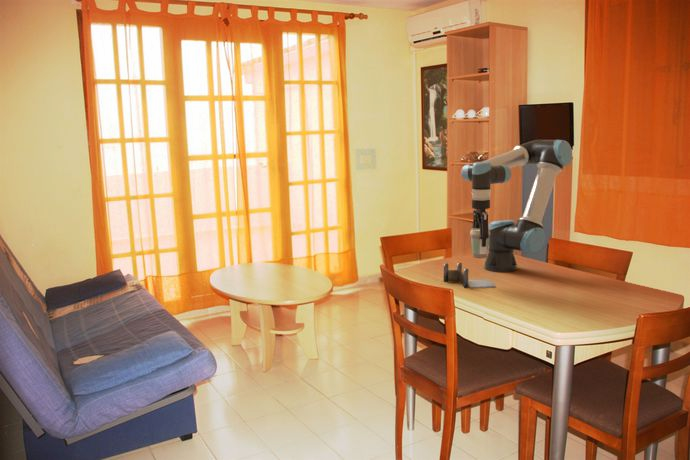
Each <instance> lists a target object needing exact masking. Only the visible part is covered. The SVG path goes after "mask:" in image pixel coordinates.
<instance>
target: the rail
mask: <svg viewBox="0 0 690 460" xmlns="http://www.w3.org/2000/svg"><path fill="white" fill-rule="evenodd" d="M456 265H457V266H456V269H449V263H446V262H445V263H443V282H444V283H448V281H453V282H458V281H459V282H460V283H461V284H462V285H463V286H462V285H461V286H462V287H464V289H468V288H469V287H468V280H469V268H463V263H462V262H457V264H456ZM460 283H459V284H460Z"/></svg>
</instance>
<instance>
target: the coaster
mask: <svg viewBox="0 0 690 460" xmlns="http://www.w3.org/2000/svg"><path fill="white" fill-rule="evenodd" d="M468 286H469V287H470V288H469V287H468V288H469V289H486V288H487V289H488V288H497V286H496V285H495V284H494V283H493V282H492V281H490V279H468Z"/></svg>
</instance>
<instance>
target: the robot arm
mask: <svg viewBox="0 0 690 460" xmlns="http://www.w3.org/2000/svg"><path fill="white" fill-rule="evenodd" d="M572 160H573V150H572V147H571V145H570V142H568V141H566V140H564V139H563V140H562V139H535V140H531V141H528V142H525V143H522V144H519V145H516V146H515V147H514V148H512V150H510V151H507V152H504V153H501V154H499V155H495V156H493V157H491V158H488V159H485V160H482V161H476V162H474V163H473V164H472V163H470V164H469V163H468V164H465V165H463V166H462V168H461V172H460V173H461V177H462V180H464V181H466V182H470V183H471V182H472V183H471V184H472V185H471V186H472V187H471V190H472V191H471V192H470V193H471V198H472V200H471V208H472V209H473V212H472V213H473V217H472V218H473V219H472V229H473V228H480V235H481V237H480V238H479V239H480V254H486V252H487V257H486V258H485V261H484V265H483V268H484V269H485V270H487V271H491V272H496V273H497V272H498V273H506V272H507V273H509V272H515V271H517V270H518V264H517V260H516V256H515V254H514V252H515V251H519V252H523V253H531V254H532V253H536V252H538V251H540V250H541V248H542V247H543V245H544V244H545V243H546V242H545V241H546V232H545V230H544V225H543V223H542V221H543V218H544V214H545V213H546V209H547V206H548V203H549V200H550V197H551V195H552V191H553V188H554V186H555V185H554V184H555V182H556V180H557V175H558V174H560V173H562V172H563V169H564V167H567V166H569V165H570V164H571V162H572ZM526 165H536V167H537V173H536V176H535V178H534V182H533V185H532V187H531V190H530V194H529V197H528V199H527V202H526V205H525V207H524V208H525V209H524V212H523V213H522V216H521V217H519V218H518V219H517V221H516V222H515V220H514V219H513V220H512V219H505V220H504V219H503V220H496V221H495V220H494V221H491V222H490V223H489V214H487V212H486V210H488V209H490V208H491V200H490V199H491V189H492V188H491V185H492V184H505V183H507V182H509V181H510V180H511V178H512V171H511V169H513V168H515V167H517V166H520V167H521V166H526ZM488 229H489V231H490V236H489V233H488ZM487 238H489V244H488V251H487Z"/></svg>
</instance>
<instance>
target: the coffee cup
mask: <svg viewBox="0 0 690 460" xmlns="http://www.w3.org/2000/svg"><path fill="white" fill-rule="evenodd" d="M488 233H489V236H490V231H489V228H488ZM469 235H470V240H471V242H470V243H471V252H472V258H473V259H486V257H487V255H488V244H489V238H487V252H486V254H480V239H479V238H480V237H481V235H480V228H473V227H472V228H471V229H470V231H469Z"/></svg>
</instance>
